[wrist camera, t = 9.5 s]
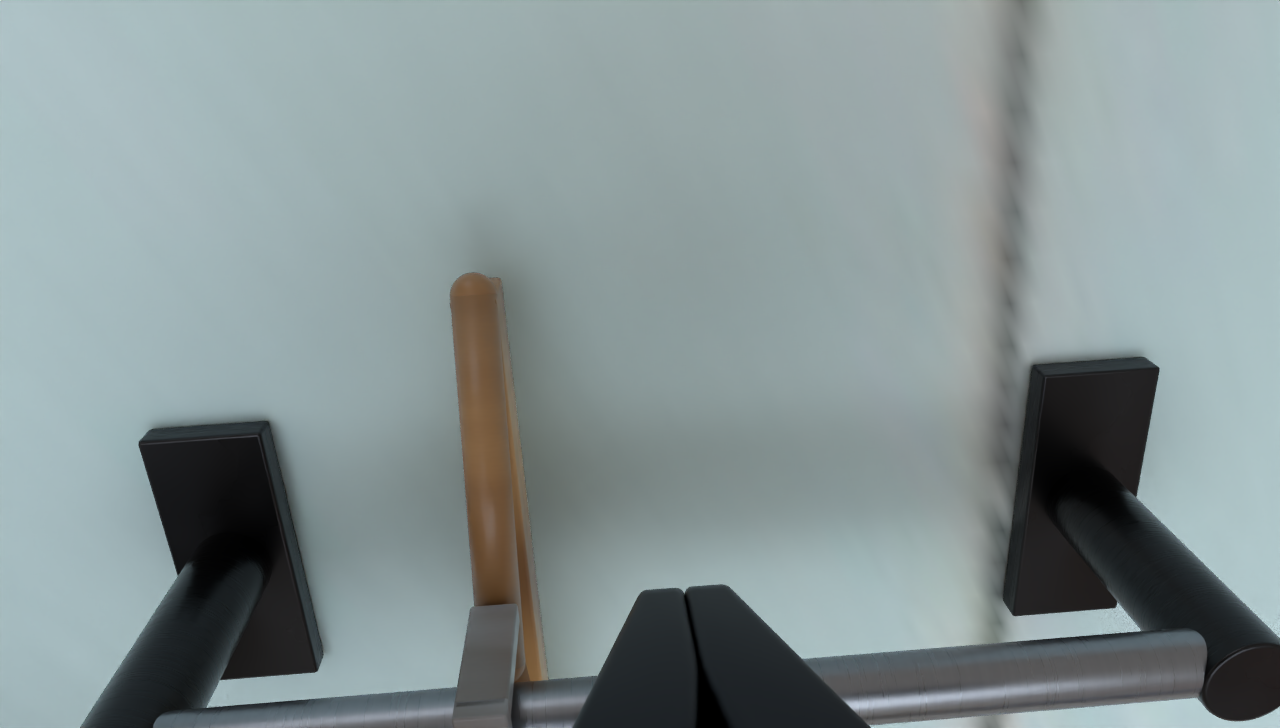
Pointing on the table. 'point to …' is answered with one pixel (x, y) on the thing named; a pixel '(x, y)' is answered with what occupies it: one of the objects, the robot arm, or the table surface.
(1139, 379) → the clothes rail
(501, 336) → the hanger
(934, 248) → the table surface
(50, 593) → the table surface
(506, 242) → the table surface
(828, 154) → the table surface
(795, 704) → the robot arm
